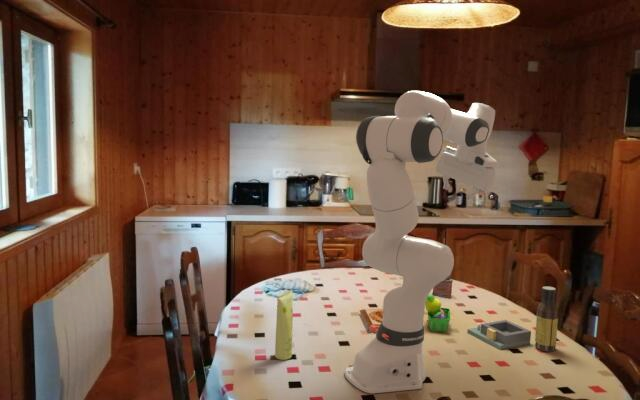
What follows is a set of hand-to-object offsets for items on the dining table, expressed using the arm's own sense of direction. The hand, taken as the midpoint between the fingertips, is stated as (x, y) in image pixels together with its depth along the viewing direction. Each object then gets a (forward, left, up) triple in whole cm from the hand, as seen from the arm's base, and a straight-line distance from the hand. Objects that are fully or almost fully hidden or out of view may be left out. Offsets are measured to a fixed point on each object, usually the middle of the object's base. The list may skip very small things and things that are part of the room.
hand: (457, 194), depth 176 cm
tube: (-60, +1, -47) cm, 76 cm away
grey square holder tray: (+12, -11, -47) cm, 50 cm away
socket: (+12, -13, -46) cm, 49 cm away
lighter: (+23, +32, -47) cm, 62 cm away
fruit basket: (-1, +5, -47) cm, 47 cm away
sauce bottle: (+20, -23, -47) cm, 56 cm away
